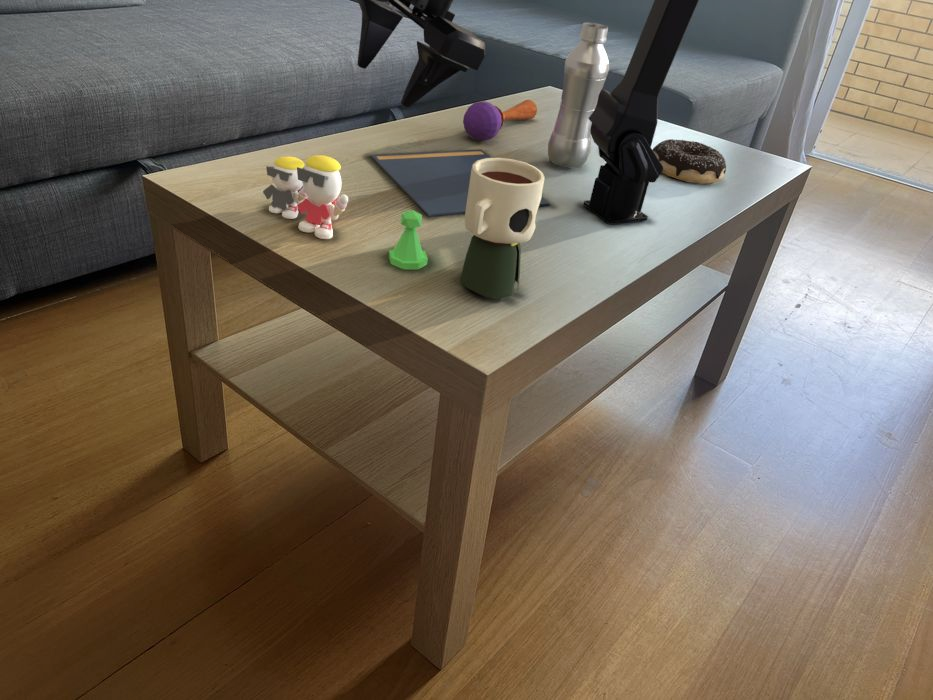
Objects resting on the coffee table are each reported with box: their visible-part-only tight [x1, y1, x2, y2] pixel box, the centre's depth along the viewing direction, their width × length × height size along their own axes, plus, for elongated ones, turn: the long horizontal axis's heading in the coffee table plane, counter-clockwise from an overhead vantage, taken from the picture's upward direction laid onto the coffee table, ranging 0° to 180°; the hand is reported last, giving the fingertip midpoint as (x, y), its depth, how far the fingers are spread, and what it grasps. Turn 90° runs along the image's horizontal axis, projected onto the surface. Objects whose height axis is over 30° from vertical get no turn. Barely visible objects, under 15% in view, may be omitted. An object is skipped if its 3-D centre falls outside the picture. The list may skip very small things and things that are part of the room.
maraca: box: [462, 99, 538, 142], centre depth 119 cm, size 6×6×20 cm
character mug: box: [459, 157, 546, 299], centre depth 73 cm, size 11×7×13 cm, turn 149°
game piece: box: [388, 209, 429, 271], centre depth 77 cm, size 4×4×6 cm
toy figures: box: [262, 154, 349, 240], centre depth 81 cm, size 12×4×8 cm, turn 49°
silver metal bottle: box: [547, 22, 610, 169], centre depth 105 cm, size 6×7×20 cm
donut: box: [652, 138, 727, 185], centre depth 114 cm, size 11×12×4 cm
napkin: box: [370, 149, 551, 217], centre depth 100 cm, size 18×20×1 cm
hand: (382, 86), depth 82 cm, fingers open, 9 cm apart
